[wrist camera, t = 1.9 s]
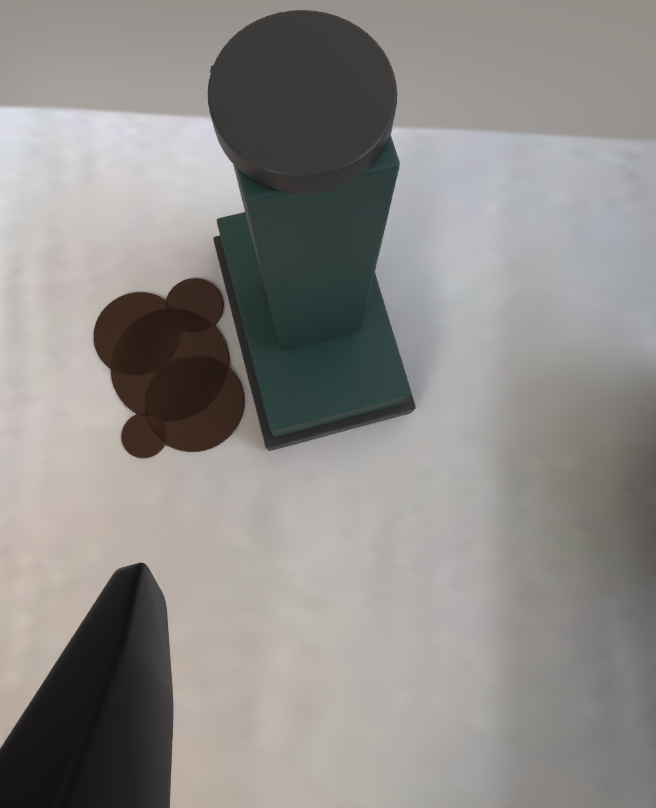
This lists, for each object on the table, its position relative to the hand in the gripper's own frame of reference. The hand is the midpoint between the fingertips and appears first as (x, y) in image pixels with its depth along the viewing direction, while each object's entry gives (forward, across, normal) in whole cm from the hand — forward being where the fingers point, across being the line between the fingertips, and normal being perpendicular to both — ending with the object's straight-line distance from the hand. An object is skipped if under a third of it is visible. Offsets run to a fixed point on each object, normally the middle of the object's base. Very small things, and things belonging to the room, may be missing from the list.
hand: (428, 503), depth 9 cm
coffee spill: (+15, +6, +4) cm, 16 cm away
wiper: (+15, 0, +4) cm, 15 cm away
